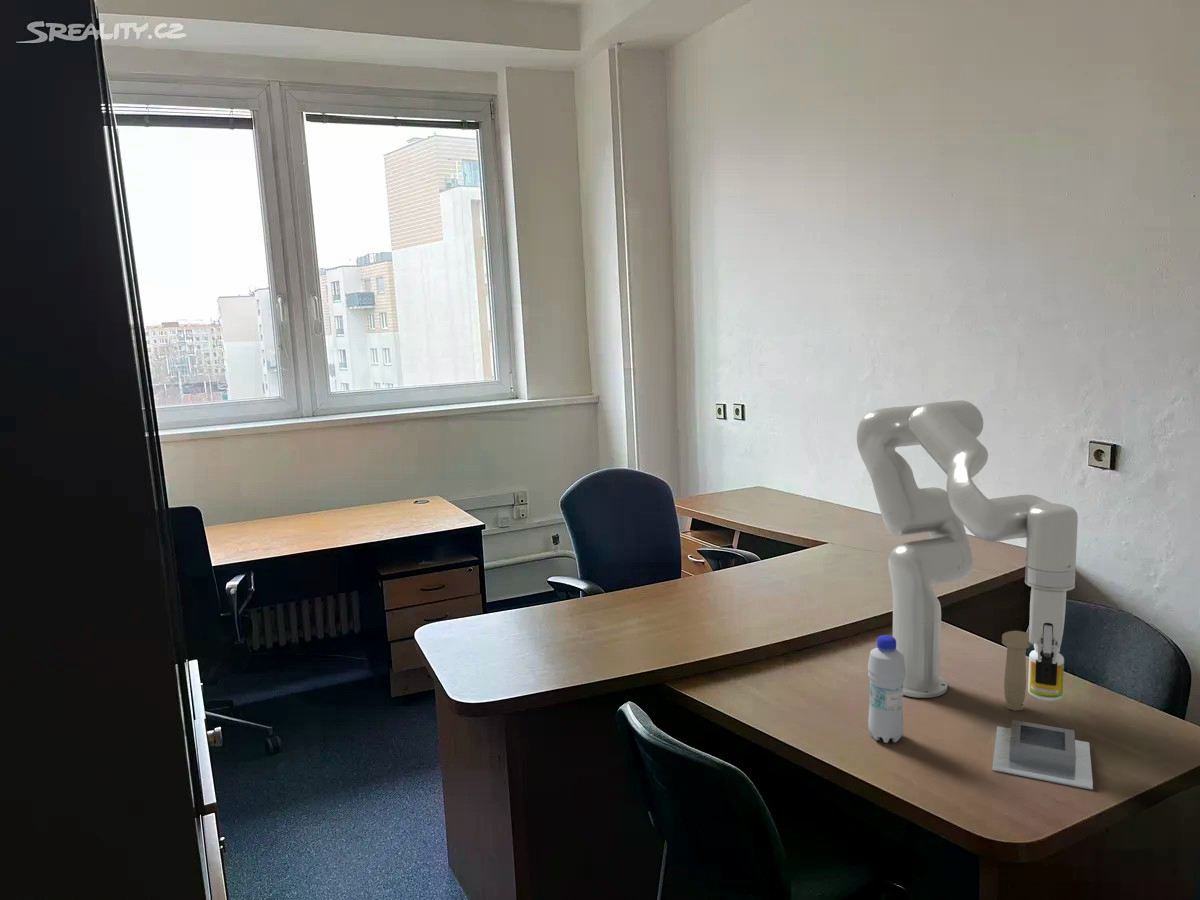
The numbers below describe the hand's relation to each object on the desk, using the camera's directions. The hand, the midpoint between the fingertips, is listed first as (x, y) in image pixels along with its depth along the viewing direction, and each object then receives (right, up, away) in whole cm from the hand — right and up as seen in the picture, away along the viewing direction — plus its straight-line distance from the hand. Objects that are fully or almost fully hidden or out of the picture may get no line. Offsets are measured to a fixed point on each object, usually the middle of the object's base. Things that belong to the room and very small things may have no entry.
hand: (1045, 675), depth 146 cm
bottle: (-24, -15, +12) cm, 31 cm away
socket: (+1, -15, +3) cm, 16 cm away
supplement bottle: (0, -4, +1) cm, 4 cm away
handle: (+5, -12, +21) cm, 25 cm away
